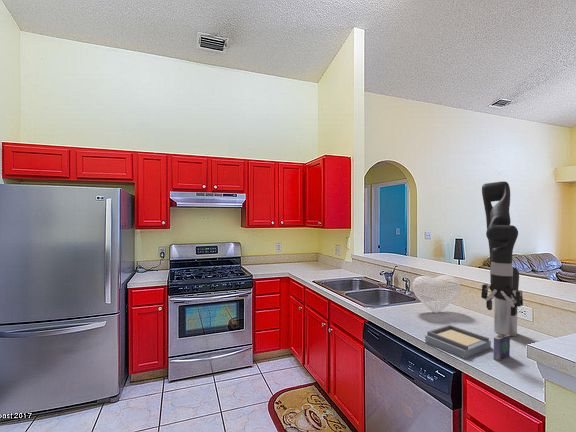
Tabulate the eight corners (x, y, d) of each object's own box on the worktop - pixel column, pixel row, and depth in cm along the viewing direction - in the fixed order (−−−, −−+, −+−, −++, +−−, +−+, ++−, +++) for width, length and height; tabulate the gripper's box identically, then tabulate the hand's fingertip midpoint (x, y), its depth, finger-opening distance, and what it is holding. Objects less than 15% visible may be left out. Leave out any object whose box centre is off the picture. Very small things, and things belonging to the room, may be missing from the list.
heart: (421, 318, 168) (422, 279, 168) (407, 309, 183) (407, 273, 183) (466, 315, 172) (466, 277, 172) (448, 307, 187) (448, 272, 187)
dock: (451, 333, 147) (451, 324, 147) (490, 347, 131) (490, 337, 131) (425, 341, 137) (425, 332, 137) (464, 358, 121) (464, 347, 121)
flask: (498, 361, 119) (498, 334, 119) (490, 358, 121) (490, 332, 121) (511, 356, 123) (511, 330, 123) (503, 353, 125) (503, 328, 125)
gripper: (526, 275, 118) (526, 316, 118) (487, 269, 130) (487, 306, 130) (517, 277, 114) (516, 319, 114) (478, 271, 126) (477, 309, 126)
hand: (501, 312), depth 122 cm, fingers open, 8 cm apart
